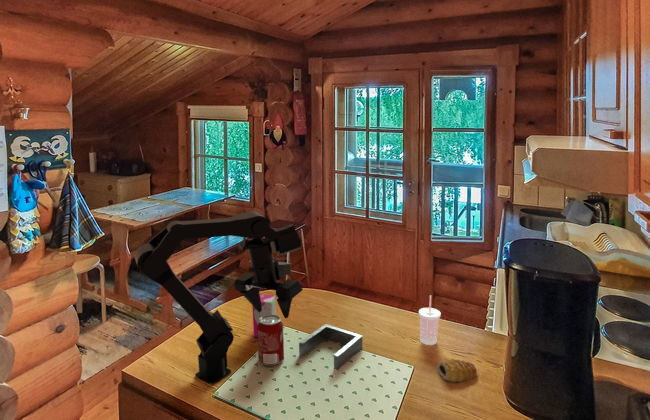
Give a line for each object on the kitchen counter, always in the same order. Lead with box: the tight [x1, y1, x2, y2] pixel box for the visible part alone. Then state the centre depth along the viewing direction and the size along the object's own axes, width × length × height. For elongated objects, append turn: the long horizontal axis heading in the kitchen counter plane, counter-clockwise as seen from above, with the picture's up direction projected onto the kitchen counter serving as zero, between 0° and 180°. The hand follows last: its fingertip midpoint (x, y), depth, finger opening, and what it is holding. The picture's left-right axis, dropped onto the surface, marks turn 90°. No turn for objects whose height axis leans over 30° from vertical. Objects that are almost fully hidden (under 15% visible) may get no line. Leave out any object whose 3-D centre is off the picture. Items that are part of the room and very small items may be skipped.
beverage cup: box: [418, 295, 442, 346], centre depth 125 cm, size 6×6×14 cm
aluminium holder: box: [298, 323, 363, 371], centre depth 121 cm, size 13×12×4 cm
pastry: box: [436, 358, 478, 383], centre depth 110 cm, size 9×7×4 cm
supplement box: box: [251, 294, 277, 339], centre depth 130 cm, size 6×6×12 cm
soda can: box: [257, 314, 285, 367], centre depth 116 cm, size 7×7×12 cm
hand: (273, 314), depth 116 cm, fingers open, 9 cm apart
